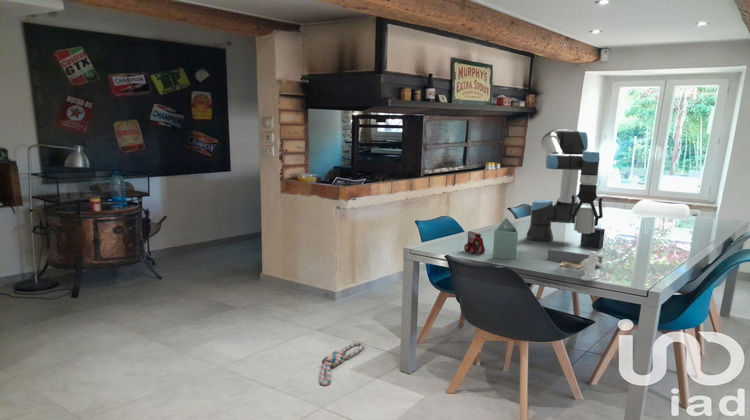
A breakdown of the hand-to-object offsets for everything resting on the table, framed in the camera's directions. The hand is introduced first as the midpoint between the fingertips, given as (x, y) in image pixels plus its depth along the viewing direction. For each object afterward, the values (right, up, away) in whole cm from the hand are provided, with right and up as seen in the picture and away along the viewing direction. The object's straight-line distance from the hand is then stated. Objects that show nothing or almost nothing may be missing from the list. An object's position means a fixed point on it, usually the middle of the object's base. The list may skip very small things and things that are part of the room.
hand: (584, 231), depth 235 cm
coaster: (-7, -16, -3) cm, 18 cm away
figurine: (-7, -20, -24) cm, 32 cm away
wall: (-4, -15, +3) cm, 16 cm away
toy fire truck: (-49, -12, +19) cm, 54 cm away
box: (+21, -11, +39) cm, 45 cm away
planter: (-33, -14, +10) cm, 37 cm away
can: (0, -1, 0) cm, 1 cm away
